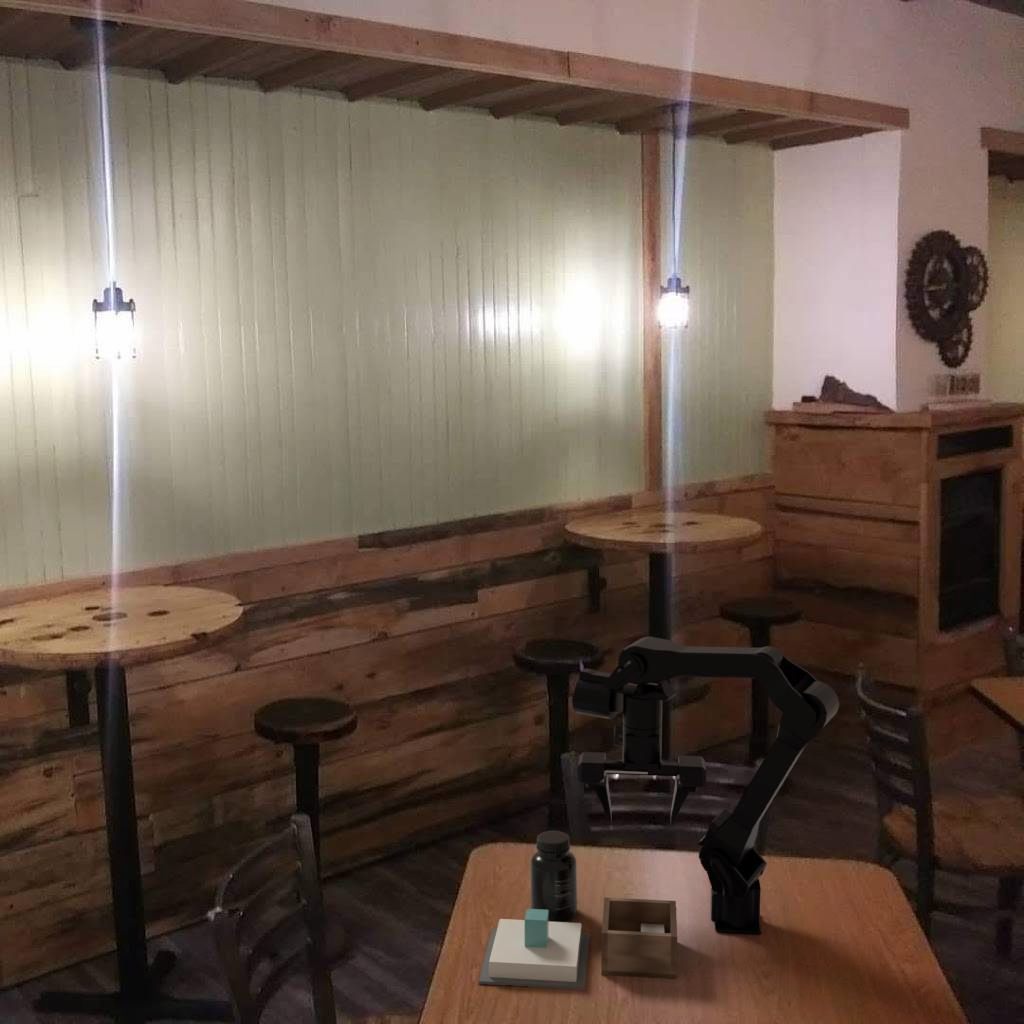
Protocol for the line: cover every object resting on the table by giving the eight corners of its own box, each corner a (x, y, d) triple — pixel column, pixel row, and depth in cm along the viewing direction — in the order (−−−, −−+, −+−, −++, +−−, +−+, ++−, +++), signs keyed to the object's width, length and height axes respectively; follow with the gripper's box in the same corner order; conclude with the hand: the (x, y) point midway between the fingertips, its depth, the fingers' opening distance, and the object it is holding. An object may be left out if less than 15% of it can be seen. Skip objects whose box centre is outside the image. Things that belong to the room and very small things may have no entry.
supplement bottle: (578, 903, 184) (578, 828, 182) (575, 926, 177) (576, 848, 176) (532, 901, 185) (532, 826, 183) (528, 924, 178) (528, 846, 176)
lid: (581, 937, 173) (581, 896, 172) (576, 982, 162) (576, 938, 161) (499, 933, 175) (499, 892, 174) (489, 976, 163) (488, 933, 162)
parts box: (675, 940, 173) (675, 900, 172) (676, 978, 164) (677, 936, 163) (603, 936, 174) (604, 897, 173) (601, 974, 165) (601, 932, 164)
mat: (589, 936, 175) (589, 933, 175) (584, 989, 161) (584, 987, 161) (492, 931, 176) (492, 928, 176) (478, 983, 162) (478, 981, 162)
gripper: (704, 708, 188) (701, 804, 191) (582, 704, 190) (581, 799, 193) (707, 732, 177) (704, 835, 180) (577, 728, 179) (577, 829, 182)
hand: (640, 823), depth 184 cm, fingers open, 9 cm apart
